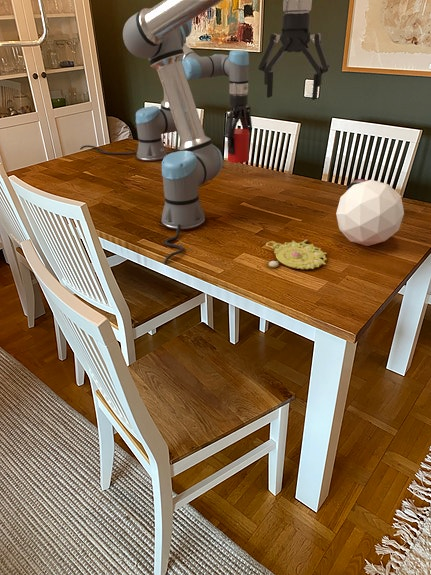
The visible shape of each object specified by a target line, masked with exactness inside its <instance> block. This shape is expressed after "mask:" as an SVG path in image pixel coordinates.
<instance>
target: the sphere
mask: <svg viewBox="0 0 431 575" xmlns="http://www.w3.org/2000/svg"><path fill="white" fill-rule="evenodd" d="M367 180H368V179H367ZM335 216H336V221H337V225H338V230H339V231H340V232H341V233H342V234H343V235H344V236H345V237H346V239H347V240H348V241H349V242H351V243H354V244H357V245H358V244H359V245H361V246H366V247H369V246H373V245H376V244H379V243H383V242H386V241H387V240H388V239H390V238H391V237H392V236H393V235H395V234H396V233H398V231H399V230H400V227H401V225H402V222H403V218H404V216H405V211H404V205H403V200H402V195H401V194H399V193H398V192H397V191H396V190H395V189H394V188H393V187H392V186H391V185H390V184H388V183H386V182H382V181H377V180H374V179H369V180H368V181H365V182H362V183H358V184H355V185H353V186H352V187H351V188H349V189H348V190H347V189H346V191H345V192H344V193H343V194H342V195H341V196H340V198H339V202H338V205H337V209H336V212H335Z"/></svg>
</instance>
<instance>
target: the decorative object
mask: <svg viewBox="0 0 431 575" xmlns="http://www.w3.org/2000/svg"><path fill="white" fill-rule="evenodd" d="M307 242H308V239H307V238H306V239H305V240H303V241H301V242H296V241H295V240H291V242H284V243H279V242H278V243H277V242H276V241H272V240H271V241H267V242H266V243H265V246H266V247H267V248H269V249H270V248H271V249H272V250H273V255H275V257H276V259H277V260H276V261H275V260H271V261H269V262H268V267H270V268H278V267H279V264H280V263H281V264H283V265H285V266H286V267H289V268H293V269H297V270H298V269H299V270H314V269H316V268H320V267H321V266H322V265H326V263H327V262H325V261H327V260H328V258H327V257H326V255H327V254H328V253H327V251H325V252H324V251H323V250H322V248H321V247H317V246H316V245H315V244H314V243H311V244H308V243H307ZM270 244H272V245H270ZM322 258H323V259H322Z"/></svg>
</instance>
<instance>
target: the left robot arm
mask: <svg viewBox="0 0 431 575" xmlns="http://www.w3.org/2000/svg"><path fill="white" fill-rule="evenodd" d="M192 25H193V24H192V20H190V21H189V22H187V23H185V24H184V25H182V27H183V29H184V33H185V41H184V46H183V52H184V57H183V60H182V64H183V67H184V70H185V74H186V77H187V80H188V81H190V80H192V81H196V80H200V79H206V78H207V79H208V78H216V77H228V78H229V81H228V82H229V83H228V84H229V85H228V87H229V89H228V91H229V92H228V93H229V97H228V98H229V103H228V104H229V105H230V107H231V108H230V110H229V111H228V110H227V111H226V112H225V116H226V117H225V118H226V119H225V125H224V134H223V137H224V138H226V139H227V154H228V153H229V154H234V143H235V138H233V136H234V132H235V129H237V125H238V123H239V122H240V124H241V129H247V130H249V134H251V133H252V130H253V124H252V114H251V110H252V108H251V106H249V105H248V104H249V95H248V94H249V77H250V76H249V74H250V73H249V72H250V71H249V70H250V54H249V52H248V50H245V49H241V50H240V49H235V50H234V49H233V50H230V51H229V54H223V53H215V54H213V55H207V56H200V55H199V54H197V53H196V52H195V51H194V50H193V49H191V47H189V46H188V45H187V38H188V37H190V35H191V33H192V30H193V26H192ZM247 105H248V106H247ZM135 124H136V132H137V139H138V146H137V151H131V152H130V151H129V152H112V151H111V152H110V151H103V150H102V149H101V147H100V146H95V145H88V144H87V145H85V144H84V145H82V146H81V147H80V148H79V150H80V151H81V150H83V149H84V148H92V149H97V150H98V151H99V153H101V154H105V155H120V156H121V155H135V154H136V159H137V160H138V161H141V162H158V161H162V160H163V159H164V157H165V156H167V155H168V153H167V150H166V148H165V145H164V142H163V135H164V134H169V133H174V132H175V133H176V132H177V133H178V131H177V128H176V125H175V122H174V119H173V116H172V113H171V110H170V107H169V104H168V101H167V98H166V95H165V92H164V91H163V100H162V101H161V102H160V108H159V106H155V105H153V106H146V107H142V108H140V109H138V110H137V111H136V112H135Z"/></svg>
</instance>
